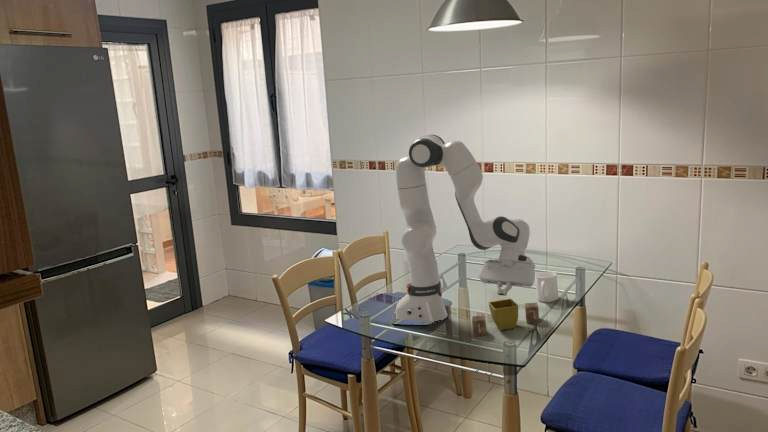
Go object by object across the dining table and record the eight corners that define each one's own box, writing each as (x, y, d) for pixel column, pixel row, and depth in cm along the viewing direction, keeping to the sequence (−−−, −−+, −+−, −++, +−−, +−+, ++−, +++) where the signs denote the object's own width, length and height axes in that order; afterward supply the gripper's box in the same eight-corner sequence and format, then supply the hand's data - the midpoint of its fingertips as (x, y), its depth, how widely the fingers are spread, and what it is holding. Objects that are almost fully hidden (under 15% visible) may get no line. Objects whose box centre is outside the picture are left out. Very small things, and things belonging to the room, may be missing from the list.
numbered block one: (473, 337, 206) (472, 321, 205) (474, 332, 210) (472, 316, 209) (486, 336, 205) (484, 320, 204) (486, 331, 209) (484, 315, 208)
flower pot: (490, 324, 215) (488, 301, 213) (513, 321, 215) (511, 298, 214) (497, 333, 206) (494, 309, 205) (521, 329, 207) (518, 305, 205)
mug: (554, 306, 225) (552, 280, 223) (532, 305, 229) (530, 280, 227) (560, 296, 235) (558, 271, 233) (539, 295, 239) (537, 271, 237)
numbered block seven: (526, 323, 212) (525, 307, 211) (526, 318, 216) (524, 303, 215) (539, 322, 211) (538, 306, 210) (538, 317, 216) (537, 302, 214)
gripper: (481, 255, 218) (472, 288, 212) (533, 257, 206) (525, 293, 200) (488, 263, 223) (479, 296, 217) (539, 266, 210) (531, 301, 204)
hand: (501, 294), depth 208 cm, fingers closed
